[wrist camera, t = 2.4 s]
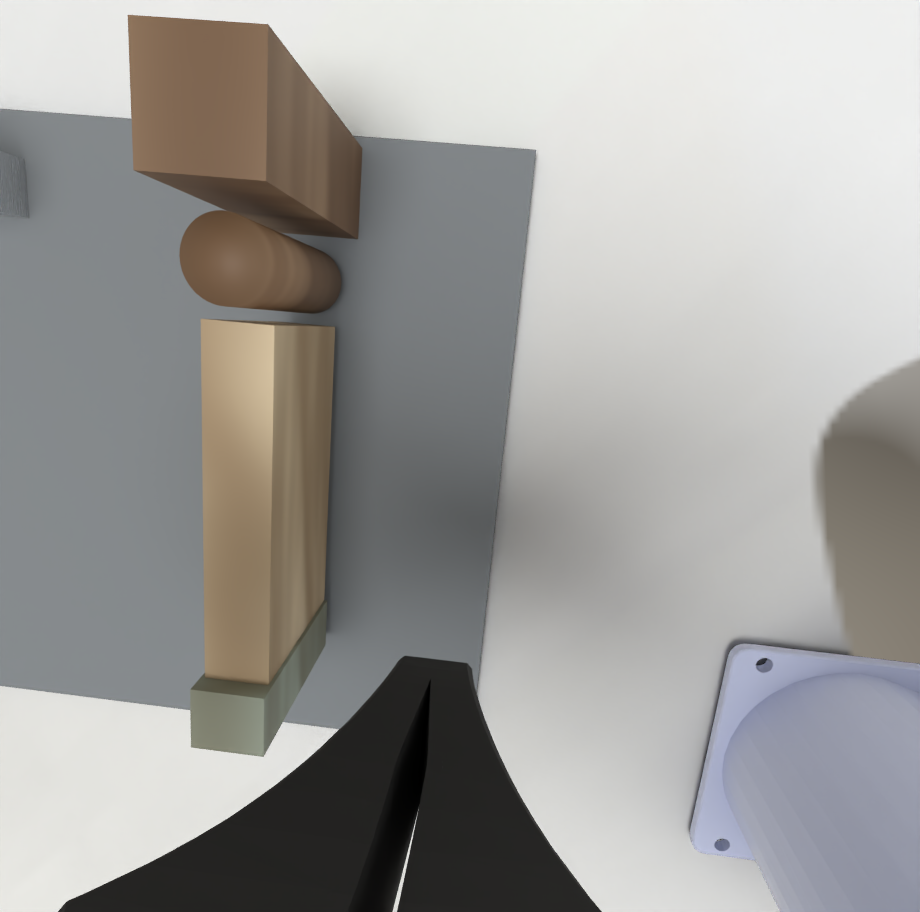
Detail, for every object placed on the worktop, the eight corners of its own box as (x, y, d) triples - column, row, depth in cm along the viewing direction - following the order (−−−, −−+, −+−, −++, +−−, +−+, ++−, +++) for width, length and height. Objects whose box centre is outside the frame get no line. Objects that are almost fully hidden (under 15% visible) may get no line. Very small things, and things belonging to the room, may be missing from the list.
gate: (342, 250, 16) (269, 213, 11) (326, 643, 19) (261, 759, 14) (279, 245, 16) (178, 206, 11) (272, 637, 19) (189, 750, 14)
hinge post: (366, 152, 16) (267, 24, 9) (361, 241, 17) (266, 180, 10) (283, 146, 16) (127, 14, 10) (281, 234, 17) (133, 170, 10)
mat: (535, 154, 16) (535, 149, 16) (471, 737, 20) (470, 745, 20) (-138, 102, 17) (-153, 96, 16) (-64, 669, 21) (-75, 675, 21)
